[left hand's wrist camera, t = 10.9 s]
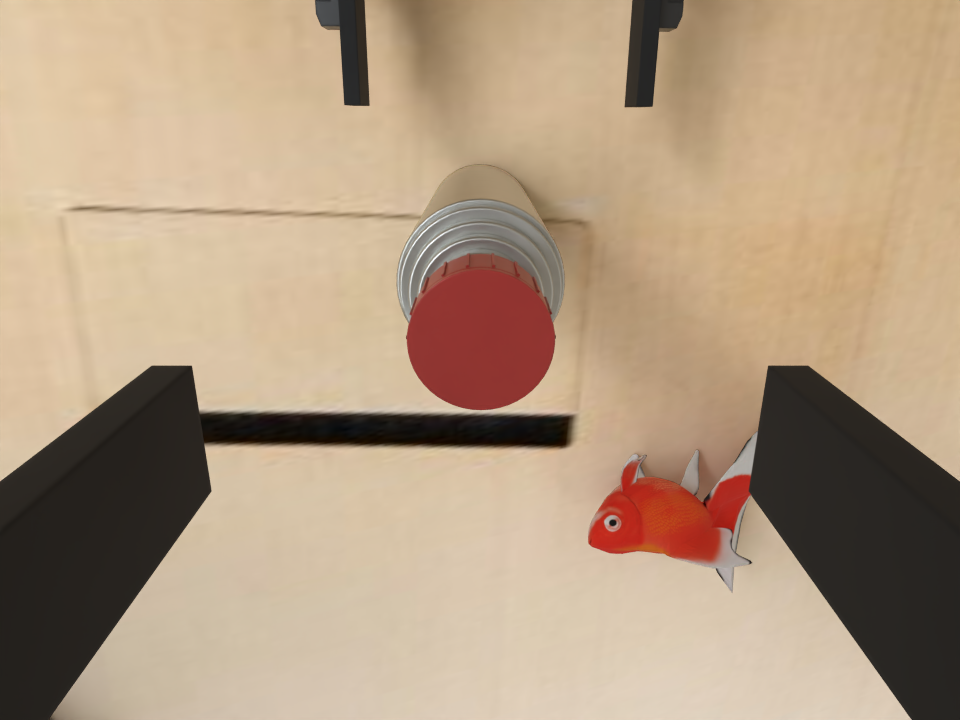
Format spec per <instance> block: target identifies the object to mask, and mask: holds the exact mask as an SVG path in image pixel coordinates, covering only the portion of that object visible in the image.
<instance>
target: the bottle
mask: <svg viewBox="0 0 960 720" xmlns="http://www.w3.org/2000/svg"><path fill="white" fill-rule="evenodd" d="M467 253H470V255H471V254H490V255H491V253H494V255H495V256H500V257H503V258H506V259H508V260H510V261H512V262H515V261H516V262H517V263H518V265H519V266H521V267H522V268H523V269H524V270H526V271H527V272H528V273H529V274H530V275H531V276H532V277H533V276H534V277H535V278H536V281H537V284H538V286H539V287H540V289H541V291H542V293H543V296H544V297H545V296H546V298H547V300H548V303H549V306H550V309H551V311H552V314H551V315H550V316H551V319H552V322H554V320H555V318H556V316H557V314H558V312H559V309H560V307H561V303H562V299H563V295H564V286H565V276H564V268H563V262H562V259H561V255H560V252H559V250H558V248H557V246H556V243H555V242H554V240H553V238H552V236H551V235H550V233H549V231H548V230H547V228H546V226H545V225H544V223H543V221H542V220H541V218H540V216H539V214H538V213H537V211H536V209H535V208H534V206H533V204H532V203H531V201H530V199H529V198H528V196H527V194H526V193H525V191H524V189H523V188H522V186H521V185H520V184H519V182H518V181H517V180H516V179H515V178H514V177H513V176H512V175H510V174H509V173H507V172H506V171H504V170H502V169H500V168H497V167H494V166H489V165H471V166H467V167H464V168H461V169H459V170H457V171H455V172H453V173H452V174H451V175H449V176H448V177H447V178H446V179H445V180H444V181H443V182H442V183H441V184H440V186H439V187H438V189H437V190H436V192H435V194H434V195H433V197H432V199H431V201H430V202H429V204H428V206H427V208H426V209H425V211H424V213H423V215H422V216H421V218H420V220H419V221H418V223H417V225H416V227H415V228H414V230H413V232H412V234H411V235H410V237H409V239H408V240H407V242H406V244H405V246H404V249H403V251H402V253H401V257H400V260H399V263H398V270H397V292H398V298H399V302H400V306H401V308H402V311H403V313H404V316H405V318H406V319H407V321H408V323H409V322H410V319H411V315H409V314H410V311H411V308H412V306H413V303H414V300H415V297H417V298H418V295H419V293H420V291H421V289H422V287H423V285H424V283H425V280H426V278H427V277H430V276H431V275H432V274H433V273H434V272H435V271H436V270H437V269H438V268H440V267H441V266H443V264H444V262H447V263H448V262H450V261H452V260H454V259H456V258H459V257H462V256H466V255H467Z"/></svg>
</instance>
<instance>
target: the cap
mask: <svg viewBox="0 0 960 720" xmlns="http://www.w3.org/2000/svg"><path fill="white" fill-rule="evenodd" d="M551 314H552V311H551V309H550V306H549V303H548V300H547V298H546V296H545V297H544V296H543V293H542V291H541V289H540V287H539V286H538V284H537V281H536V278H535V277H534V276H533V277H532V276H531V275H530V274H529V273H528V272H527V271H526V270H524V269H523V268H522V267H521V266H519V265H518V263H517V262H516V261H515V262H512V261H510V260H508V259H506V258H503V257H500V256H495V255H494V253H491V255H490V254H471V255H470V253H467V255H466V256H462V257H459V258H456V259H454V260H452V261H450V262H448V263H447V262H444V264H443V266H441V267H440V268H438V269H437V270H436V271H435V272H434V273H433V274H432V275H431V276H430V277H427V278H426V280H425V283H424V285H423V287H422V289H421V291H420V293H419V295H418V298H417V297H415V300H414V303H413V306H412V308H411V311H410V314H409V315H411V319H410V322H409V326H408V332H407V336H406V339H407V347H408V354H409V358H410V361H411V364H412V366H413V369H414V371H415V372H416V374H417V376H418V377H419V379H420V380H421V381H422V383H423V384H424V385H425V386H426V387H427V388H428V389H429V390H430V391H431V392H432V393H433V394H435V395H436V396H437V397H439V398H441V399H442V400H444V401H446V402H448V403H450V404H452V405H455V406H458V407H461V408H466V409H472V410H490V409H496V408H501V407H504V406H507V405H510V404H512V403H514V402H516V401H518V400H520V399H521V398H523V397H525V396H526V395H527V394H528V393H530V392H531V391H532V390H533V389H534V388H535V387H536V386H537V385H538V384H539V383H540V381H541V380H542V379H543V377H544V376H545V374H546V372H547V370H548V369H549V366H550V364H551V361H552V358H553V353H554V347H555V339H556V336H555V332H554V326H553V322H552V319H551V316H550V315H551Z"/></svg>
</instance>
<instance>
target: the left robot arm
mask: <svg viewBox="0 0 960 720" xmlns="http://www.w3.org/2000/svg"><path fill="white" fill-rule="evenodd" d="M210 493H211V485H210V478H209V472H208V466H207V459H206V453H205V447H204V440H203V434H202V427H201V421H200V415H199V408H198V402H197V396H196V389H195V383H194V376H193V370H192V366H151V367H150V368H148V369H147V370H146V371H144V372H143V373H142V374H140V375H139V376H138V377H137V378H135V379H134V380H133V381H131V382H130V383H129V384H127V385H126V386H125V387H123V388H122V389H121V390H119V391H118V392H117V393H116V394H114V395H113V396H112V397H110V398H109V399H108V400H106V401H105V402H104V403H102V404H101V405H100V406H99V407H97V408H96V409H95V410H93V411H92V412H91V413H89V414H88V415H87V416H85V417H84V418H83V419H81V420H80V421H79V422H78V423H76V424H75V425H74V426H72V427H71V428H70V429H68V430H67V431H66V432H64V433H63V434H62V435H61V436H59V437H58V438H57V439H55V440H54V441H53V442H51V443H50V444H49V445H47V446H46V447H45V448H43V449H42V450H41V451H40V452H38V453H37V454H36V455H34V456H33V457H32V458H30V459H29V460H28V461H26V462H25V463H24V464H23V465H21V466H20V467H19V468H17V469H16V470H15V471H13V472H12V473H11V474H9V475H8V476H7V477H5V478H4V479H3V480H2V481H0V720H49V718H50V717H51V715H52V714H53V712H54V711H55V710H56V708H57V707H58V705H59V704H60V703H61V701H62V700H63V698H64V697H65V696H66V694H67V693H68V691H69V690H70V689H71V687H72V686H73V684H74V683H75V682H76V680H77V679H78V677H79V676H80V675H81V673H82V672H83V670H84V669H85V668H86V666H87V665H88V663H89V662H90V661H91V659H92V658H93V656H94V655H95V654H96V652H97V651H98V649H99V648H100V647H101V645H102V644H103V642H104V641H105V640H106V638H107V637H108V635H109V634H110V633H111V631H112V630H113V628H114V627H115V626H116V624H117V623H118V621H119V620H120V619H121V617H122V616H123V614H124V613H125V612H126V610H127V609H128V607H129V606H130V605H131V603H132V602H133V600H134V599H135V598H136V596H137V595H138V593H139V592H140V591H141V589H142V588H143V586H144V585H145V584H146V582H147V581H148V579H149V578H150V577H151V575H152V574H153V572H154V571H155V570H156V568H157V567H158V565H159V564H160V563H161V561H162V560H163V558H164V557H165V556H166V554H167V553H168V551H169V550H170V549H171V547H172V546H173V544H174V543H175V542H176V540H177V539H178V537H179V536H180V535H181V533H182V532H183V530H184V529H185V528H186V526H187V525H188V523H189V522H190V521H191V519H192V518H193V516H194V515H195V514H196V512H197V511H198V509H199V508H200V507H201V505H202V504H203V502H204V501H205V500H206V498H207V497H208V495H209V494H210ZM749 493H750V494H751V495H752V497H753V498H754V500H755V501H756V502H757V504H758V505H759V507H760V508H761V509H762V511H763V512H764V514H765V515H766V516H767V518H768V519H769V521H770V522H771V523H772V525H773V526H774V528H775V529H776V530H777V532H778V533H779V535H780V536H781V537H782V539H783V540H784V542H785V543H786V544H787V546H788V547H789V549H790V550H791V551H792V553H793V554H794V556H795V557H796V558H797V560H798V561H799V563H800V564H801V565H802V567H803V568H804V570H805V571H806V572H807V574H808V575H809V577H810V578H811V579H812V581H813V582H814V584H815V585H816V586H817V588H818V589H819V591H820V592H821V593H822V595H823V596H824V598H825V599H826V600H827V602H828V603H829V605H830V606H831V607H832V609H833V610H834V612H835V613H836V614H837V616H838V617H839V619H840V620H841V621H842V623H843V624H844V626H845V627H846V628H847V630H848V631H849V633H850V634H851V635H852V637H853V638H854V640H855V641H856V642H857V644H858V645H859V647H860V648H861V649H862V651H863V652H864V654H865V655H866V656H867V658H868V659H869V661H870V662H871V663H872V665H873V666H874V668H875V669H876V670H877V672H878V673H879V675H880V676H881V677H882V679H883V680H884V682H885V683H886V684H887V686H888V687H889V689H890V690H891V691H892V693H893V694H894V696H895V697H896V698H897V700H898V701H899V703H900V704H901V705H902V707H903V708H904V710H905V711H906V712H907V714H908V715H909V717H910V718H911V719H912V720H960V481H958V480H957V479H956V478H955V477H953V476H952V475H951V474H949V473H948V472H947V471H945V470H944V469H943V468H941V467H940V466H939V465H937V464H936V463H935V462H934V461H932V460H931V459H930V458H928V457H927V456H926V455H924V454H923V453H922V452H920V451H919V450H918V449H917V448H915V447H914V446H913V445H911V444H910V443H909V442H907V441H906V440H905V439H903V438H902V437H901V436H899V435H898V434H897V433H896V432H894V431H893V430H892V429H890V428H889V427H888V426H886V425H885V424H884V423H882V422H881V421H880V420H879V419H877V418H876V417H875V416H873V415H872V414H871V413H869V412H868V411H867V410H865V409H864V408H863V407H861V406H860V405H859V404H858V403H856V402H855V401H854V400H852V399H851V398H850V397H848V396H847V395H846V394H844V393H843V392H842V391H841V390H839V389H838V388H837V387H835V386H834V385H833V384H831V383H830V382H829V381H827V380H826V379H825V378H823V377H822V376H821V375H820V374H818V373H817V372H816V371H814V370H813V369H812V368H810V367H809V366H768V370H767V377H766V383H765V389H764V396H763V402H762V408H761V415H760V421H759V428H758V434H757V440H756V447H755V453H754V459H753V466H752V472H751V478H750V485H749Z"/></svg>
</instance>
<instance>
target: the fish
mask: <svg viewBox="0 0 960 720" xmlns="http://www.w3.org/2000/svg"><path fill="white" fill-rule="evenodd" d="M757 434H758V431H757V432H756V433H755V434H754V435H753V436H752V437H751V438H750V439H749V440H748V441H747V443H746V444H745V446H744V447H743V449H742V451H741V452H740V454H739V456H738V457H737V459H736V461H735V462H734V463H733V465H732V466H731V467H730V468H729V469H728V471H727V472H726V473H725V474H724V475H723V477H722V478H721V479H720V480H719V482H718V483H717V484H716V485H715V487H714V488H713V489H712V491H711V492H710V493H709V494H708V496H707V497H706V498H705V499H704V502H701V501H700V500H699V499H698V498H696V497H695V495H696V494H697V492H698V489H699V472H698V462H699V451H698V450H696V451H695V453H694V455H693V457H692V459H691V460H690V462H689V464H688V466H687V468H686V471H685V474H684V477H683V480H682V482H681V484H680V485H679V484H676V483H674V482H671V481H668V480H665V479H660V478H656V477H645V475H644V472H643V470H642V468H641V463H642V462H643V460H644V459H645V458H646V456H647V455H643V456H641V457H640V458H639V456H638V455H636V454H634V455H632V456H631V457H630V458H629V460H628V461H627V462H626V464H625V465H624V467H623V469H622V476H621V485H620V486H618V487H617V488H616V489H615V490H614V491H612V493H611V494H610V495H609V496H607V498H606V499H605V500H604V502H603V503H602V505H601V506H600V508H599V509H598V511H597V512H596V514H595V516H594V518H593V520H592V522H591V524H590V527H589V532H588V543H589V544H590V545H591V546H592V547H594V548H597V549H600V550H602V551H605V552H608V553H614V554H623V553H629V552H635V551H644V552H652V553H663V554H666V555H667V556H670V557H672V558H675V559H679V560H682V561H686V562H689V563H693V564H697V565H701V566H705V567H710V568H716V570H717V573H718V574H719V576H720V577H721V578H722V580H723V581H724V582H725V584H726V585H727V586H728V588H729V589H730V591H731V592H732V591H733V576H734V567H736V566H742V565H748V564H751V563H752V562H751V561H750V560H748V559H746V558H744V557H742V556H739V555H738V554H737V553H736V549H737V543H738V537H739V531H740V525H741V521H742V518H743V514H744V511H745V508H746V504H747V501H748V500H749V498H750V496H751V494H750V493H749V485H750V478H751V472H752V466H753V459H754V453H755V447H756V440H757Z"/></svg>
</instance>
